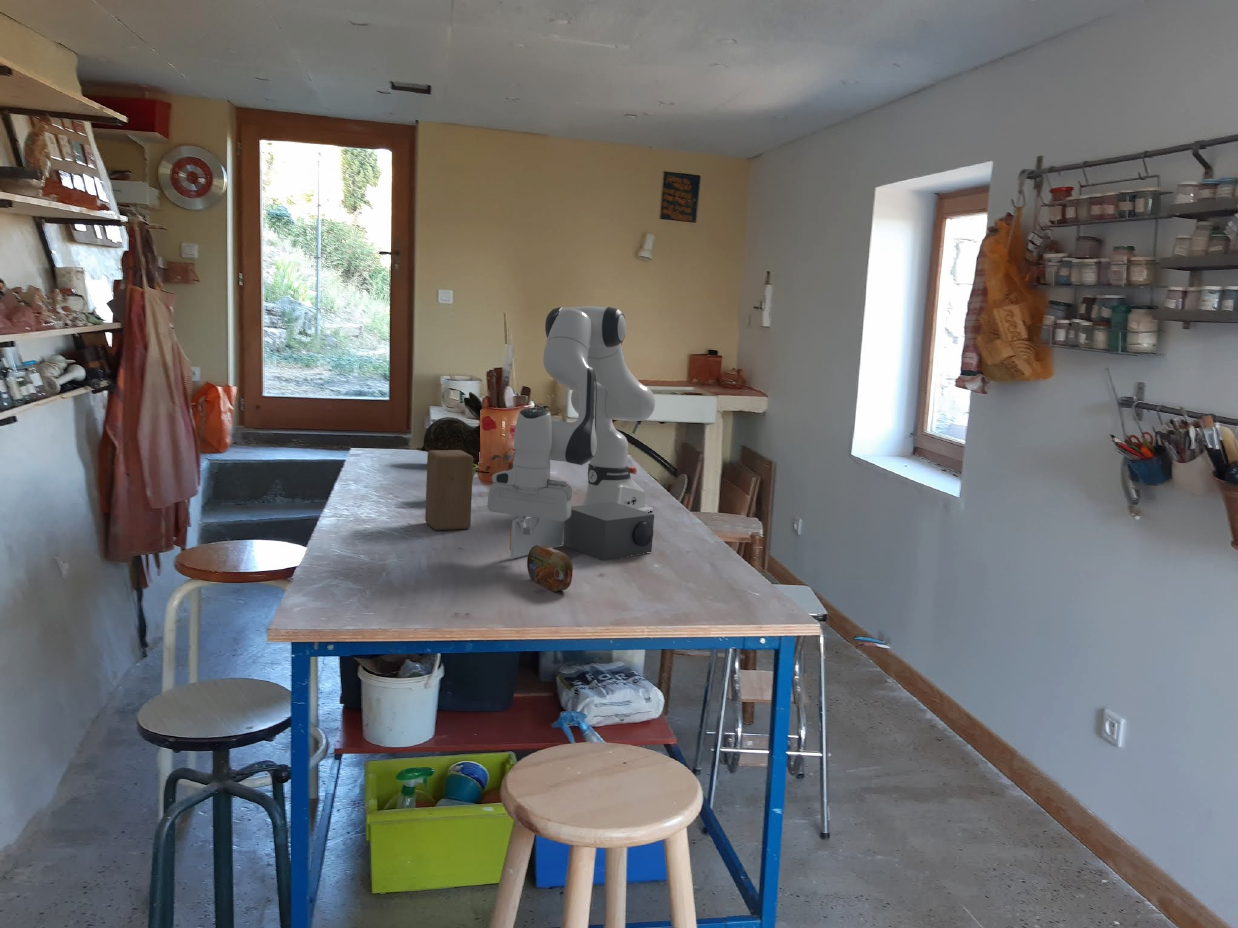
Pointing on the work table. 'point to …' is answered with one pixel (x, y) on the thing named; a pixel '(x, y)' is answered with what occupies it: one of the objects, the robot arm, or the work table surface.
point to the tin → (549, 568)
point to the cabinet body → (609, 530)
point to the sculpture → (456, 432)
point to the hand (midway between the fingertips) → (527, 534)
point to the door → (535, 536)
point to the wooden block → (449, 489)
